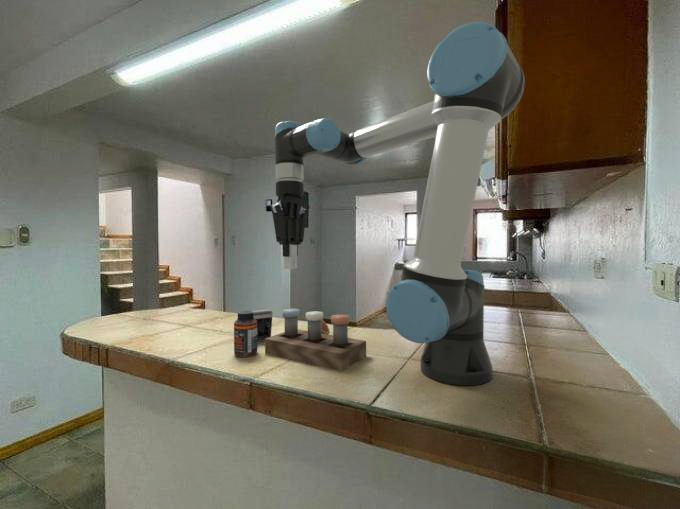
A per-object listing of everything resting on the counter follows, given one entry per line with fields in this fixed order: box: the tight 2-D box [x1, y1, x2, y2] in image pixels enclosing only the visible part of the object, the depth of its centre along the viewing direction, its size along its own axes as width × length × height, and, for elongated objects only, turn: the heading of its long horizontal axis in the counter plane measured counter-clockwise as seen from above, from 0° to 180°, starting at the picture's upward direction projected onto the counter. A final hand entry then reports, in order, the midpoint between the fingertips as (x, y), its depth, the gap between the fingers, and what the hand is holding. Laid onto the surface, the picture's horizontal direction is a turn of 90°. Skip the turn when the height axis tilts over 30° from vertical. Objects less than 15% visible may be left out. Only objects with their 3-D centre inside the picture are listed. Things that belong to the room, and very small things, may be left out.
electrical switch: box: [252, 309, 273, 342], centre depth 99 cm, size 9×5×9 cm, turn 117°
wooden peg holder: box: [264, 329, 367, 372], centre depth 86 cm, size 24×12×4 cm, turn 58°
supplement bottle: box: [233, 310, 258, 358], centre depth 86 cm, size 6×6×11 cm
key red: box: [330, 314, 351, 345], centre depth 81 cm, size 5×5×6 cm
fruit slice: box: [321, 318, 331, 335], centre depth 102 cm, size 8×7×5 cm
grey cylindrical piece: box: [282, 308, 300, 335], centre depth 90 cm, size 5×5×6 cm
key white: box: [305, 310, 324, 340], centre depth 85 cm, size 5×5×6 cm
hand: (290, 268), depth 89 cm, fingers closed
